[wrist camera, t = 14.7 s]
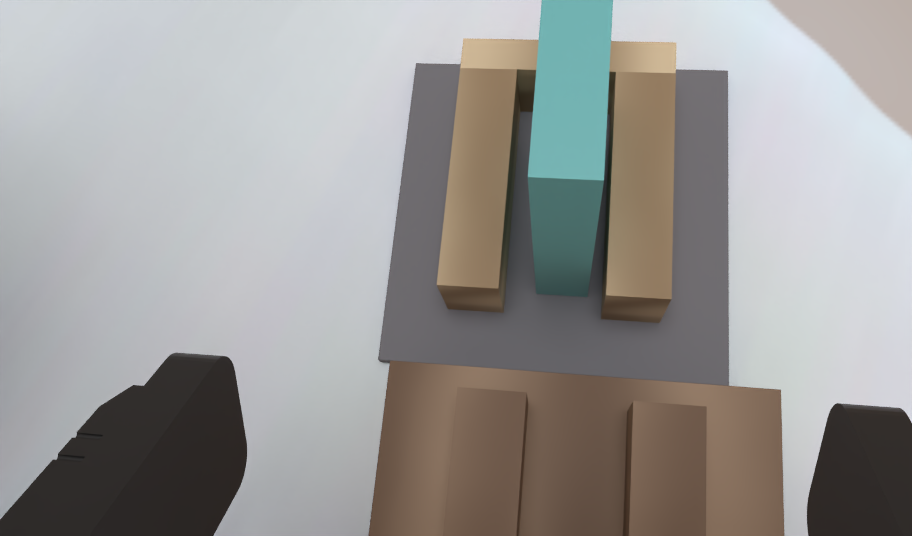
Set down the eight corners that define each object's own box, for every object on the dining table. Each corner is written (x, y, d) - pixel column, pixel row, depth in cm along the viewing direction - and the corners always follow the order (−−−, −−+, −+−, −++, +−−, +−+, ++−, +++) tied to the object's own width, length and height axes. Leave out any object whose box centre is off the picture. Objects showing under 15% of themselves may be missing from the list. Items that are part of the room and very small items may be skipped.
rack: (448, 309, 29) (436, 284, 26) (471, 82, 32) (463, 38, 29) (659, 323, 28) (671, 299, 25) (664, 87, 31) (676, 42, 28)
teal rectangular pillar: (536, 293, 29) (527, 176, 19) (547, 141, 31) (544, -34, 21) (587, 297, 29) (604, 180, 19) (595, 143, 30) (614, -33, 21)
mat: (380, 361, 29) (378, 359, 29) (417, 68, 33) (416, 63, 32) (726, 387, 28) (728, 385, 27) (725, 76, 31) (727, 70, 31)
